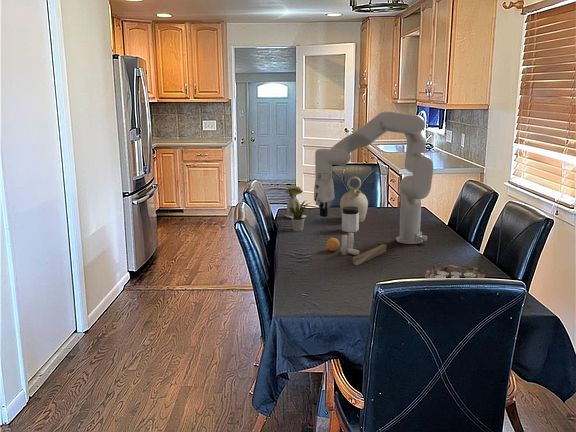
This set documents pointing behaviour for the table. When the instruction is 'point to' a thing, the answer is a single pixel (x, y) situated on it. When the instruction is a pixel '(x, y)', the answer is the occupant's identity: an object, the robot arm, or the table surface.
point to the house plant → (297, 216)
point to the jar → (350, 219)
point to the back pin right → (351, 240)
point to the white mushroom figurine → (293, 200)
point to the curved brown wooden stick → (369, 254)
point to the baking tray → (455, 272)
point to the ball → (333, 244)
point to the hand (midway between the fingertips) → (323, 216)
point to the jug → (355, 199)
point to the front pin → (352, 251)
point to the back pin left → (344, 244)
